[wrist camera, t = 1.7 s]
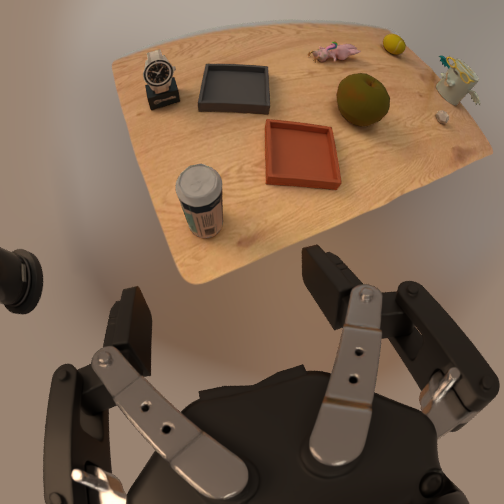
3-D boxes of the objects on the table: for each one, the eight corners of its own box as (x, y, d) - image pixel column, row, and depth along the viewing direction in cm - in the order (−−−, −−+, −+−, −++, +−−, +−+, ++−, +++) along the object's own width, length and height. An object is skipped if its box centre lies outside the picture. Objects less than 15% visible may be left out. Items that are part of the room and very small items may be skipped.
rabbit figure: (318, 71, 50) (365, 61, 50) (321, 53, 44) (370, 45, 44) (302, 57, 51) (349, 47, 51) (304, 39, 45) (354, 31, 46)
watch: (152, 117, 41) (139, 72, 30) (147, 91, 43) (136, 49, 32) (182, 108, 42) (175, 61, 31) (174, 83, 44) (168, 40, 33)
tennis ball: (375, 45, 56) (383, 29, 49) (387, 45, 57) (395, 30, 51) (392, 58, 55) (401, 43, 48) (403, 58, 56) (412, 43, 49)
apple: (383, 125, 46) (408, 91, 35) (357, 142, 44) (383, 104, 33) (348, 93, 47) (367, 57, 36) (319, 106, 45) (337, 65, 34)
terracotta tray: (265, 184, 39) (268, 176, 37) (264, 127, 42) (266, 118, 40) (336, 190, 40) (341, 183, 38) (327, 134, 43) (331, 127, 41)
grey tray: (198, 111, 42) (197, 102, 40) (206, 72, 45) (206, 63, 43) (268, 114, 43) (270, 105, 41) (266, 74, 46) (268, 66, 44)
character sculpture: (415, 69, 55) (434, 41, 42) (435, 73, 57) (453, 49, 44) (454, 119, 51) (480, 92, 38) (471, 120, 53) (494, 97, 40)
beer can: (228, 214, 38) (230, 170, 26) (213, 244, 36) (208, 209, 25) (198, 201, 38) (188, 154, 26) (182, 230, 37) (165, 191, 25)
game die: (436, 122, 49) (442, 116, 46) (432, 112, 50) (438, 106, 47) (446, 127, 49) (452, 121, 46) (442, 117, 50) (448, 111, 47)
